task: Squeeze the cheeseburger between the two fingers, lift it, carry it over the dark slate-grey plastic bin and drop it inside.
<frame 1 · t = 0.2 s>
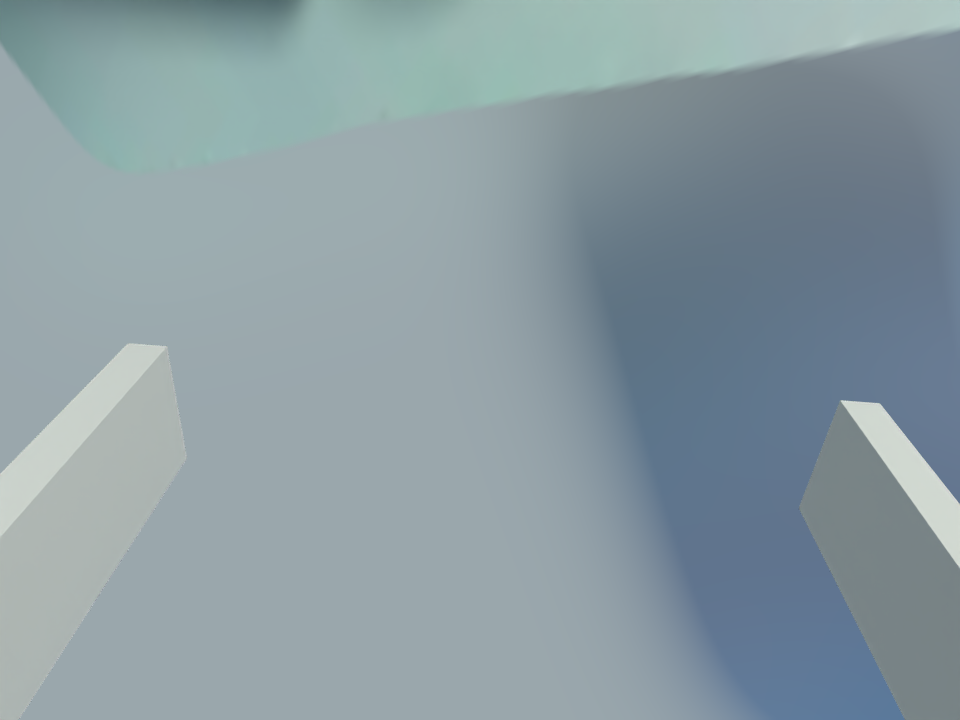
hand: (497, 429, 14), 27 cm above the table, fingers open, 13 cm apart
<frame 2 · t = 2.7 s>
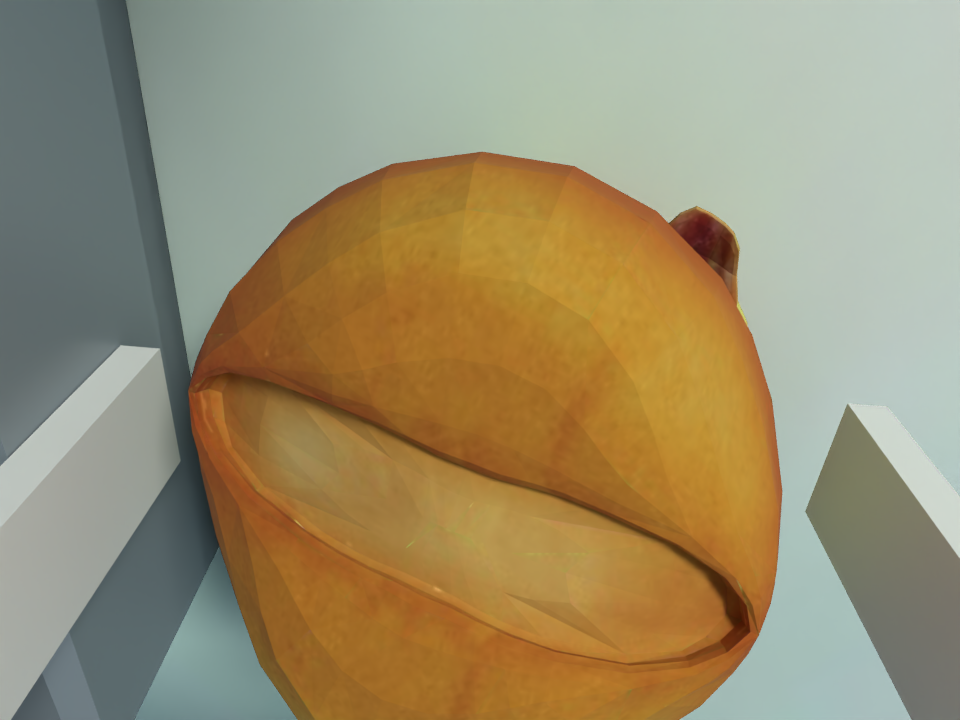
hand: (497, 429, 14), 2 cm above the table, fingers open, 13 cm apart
cheeseburger: (499, 355, 17), on the table
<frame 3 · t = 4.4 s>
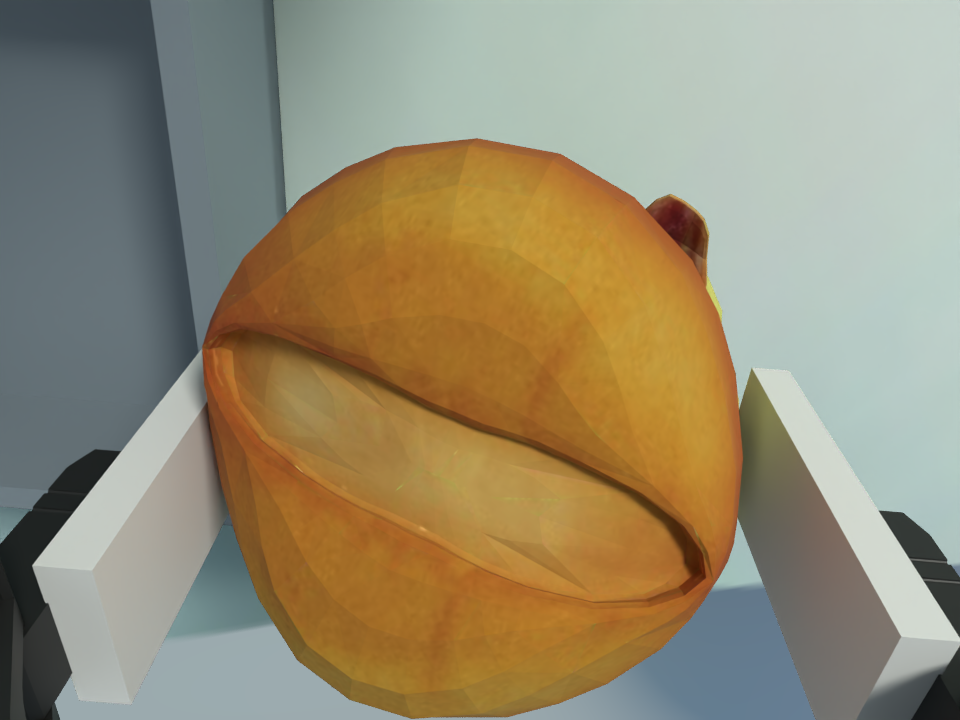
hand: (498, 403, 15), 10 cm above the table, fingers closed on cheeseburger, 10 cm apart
bin: (14, 170, 23), on the table
cheeseburger: (491, 340, 18), point 7 cm above the table, touching gripper
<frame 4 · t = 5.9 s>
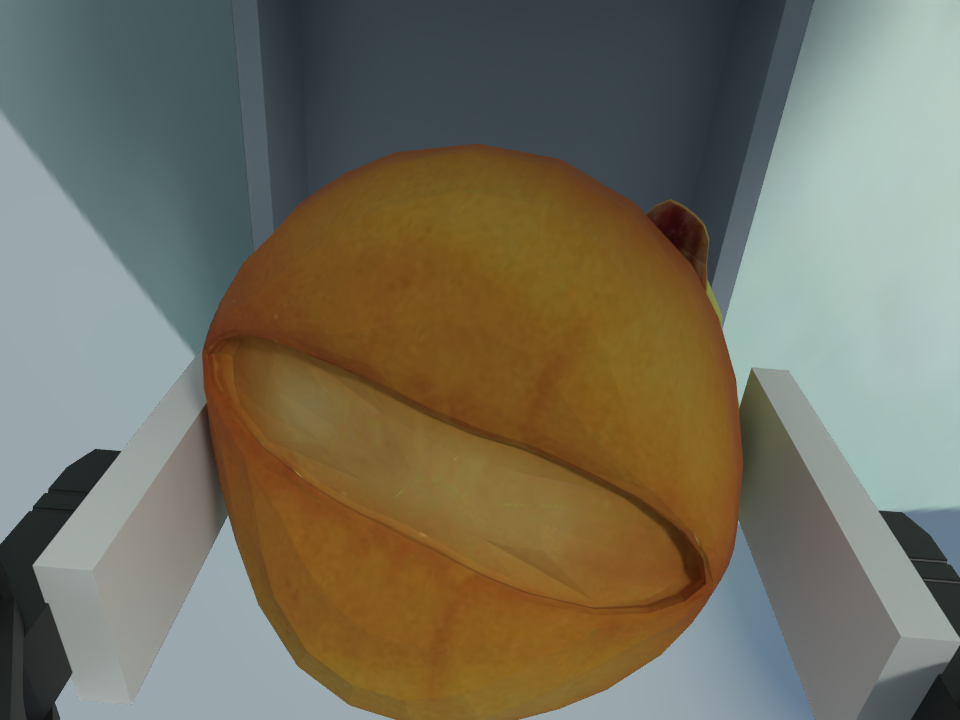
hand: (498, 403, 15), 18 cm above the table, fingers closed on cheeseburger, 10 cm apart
bin: (500, 173, 30), on the table
cheeseburger: (492, 343, 18), point 15 cm above the table, touching gripper
when the fingers open (4 cm above the table, at t = 7.9 s): cheeseburger stays where it is, resting on bin.
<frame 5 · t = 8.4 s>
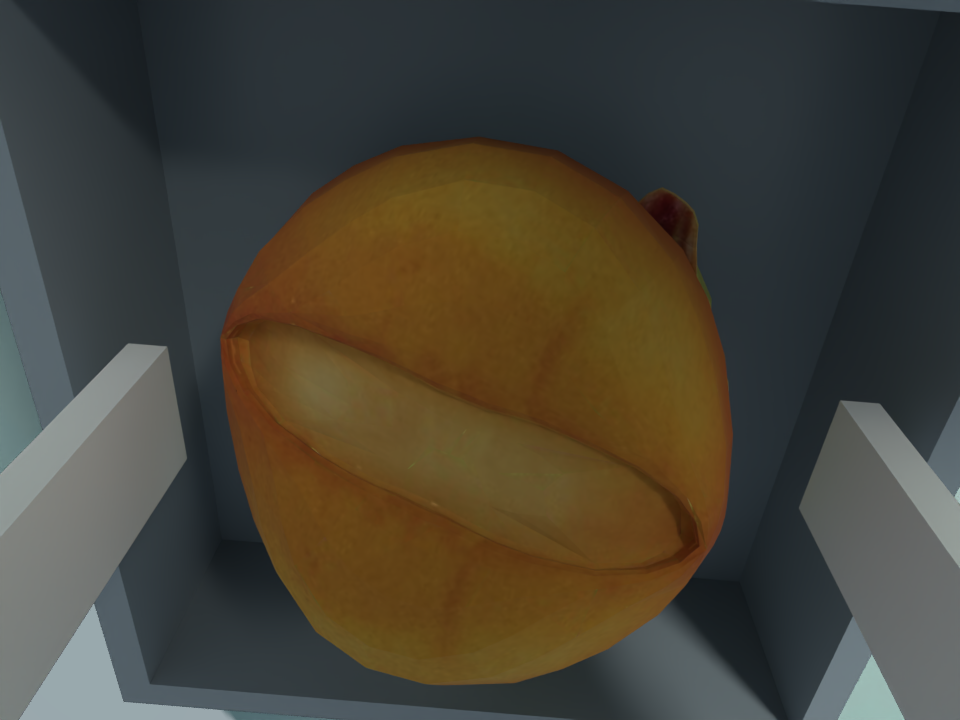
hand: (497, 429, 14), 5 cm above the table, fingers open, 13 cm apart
bin: (502, 313, 19), on the table
cheeseburger: (490, 330, 18), point 1 cm above the table, touching bin
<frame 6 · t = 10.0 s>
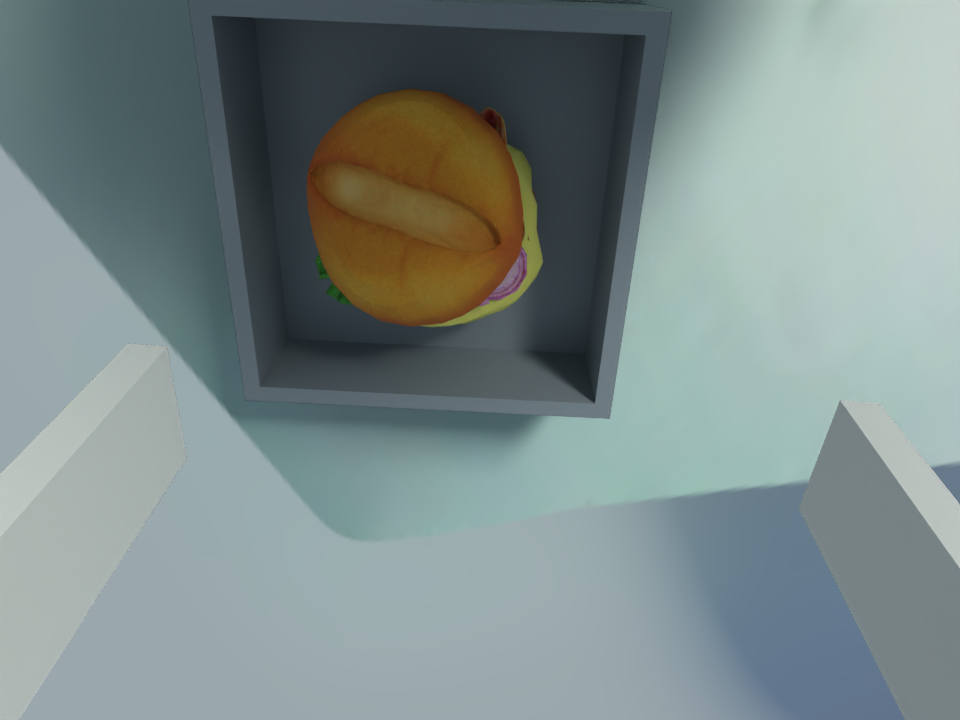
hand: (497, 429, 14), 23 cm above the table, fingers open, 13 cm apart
bin: (439, 194, 35), on the table
cheeseburger: (432, 201, 35), point 1 cm above the table, touching bin
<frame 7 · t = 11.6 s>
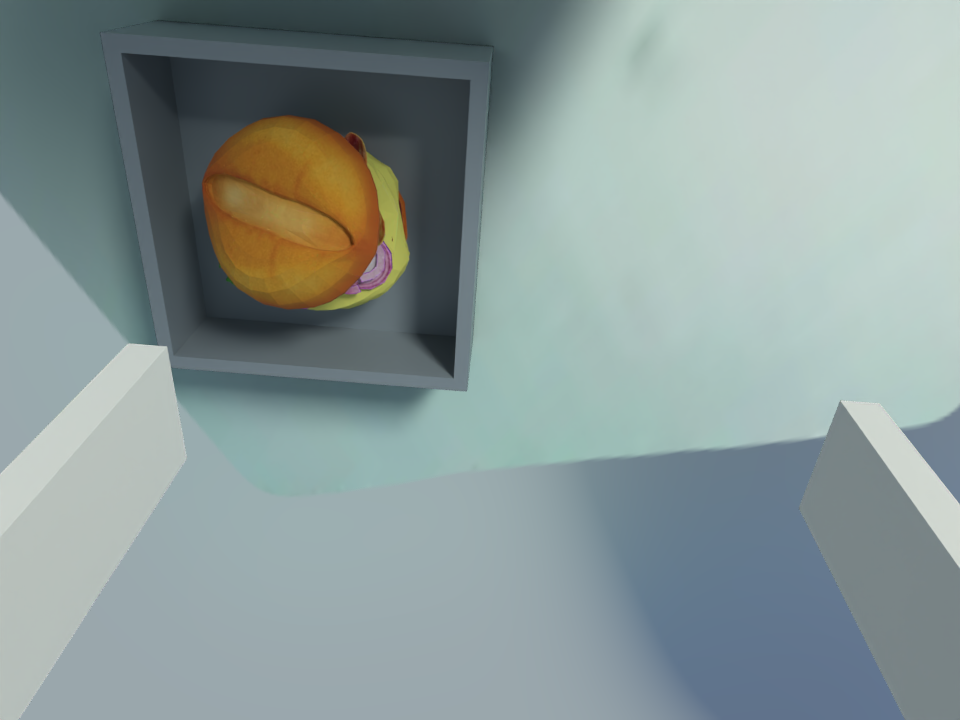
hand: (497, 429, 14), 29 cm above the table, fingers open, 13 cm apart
bin: (331, 197, 42), on the table
cheeseburger: (324, 204, 41), point 1 cm above the table, touching bin
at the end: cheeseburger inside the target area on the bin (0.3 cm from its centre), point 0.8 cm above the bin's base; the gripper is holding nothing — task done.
